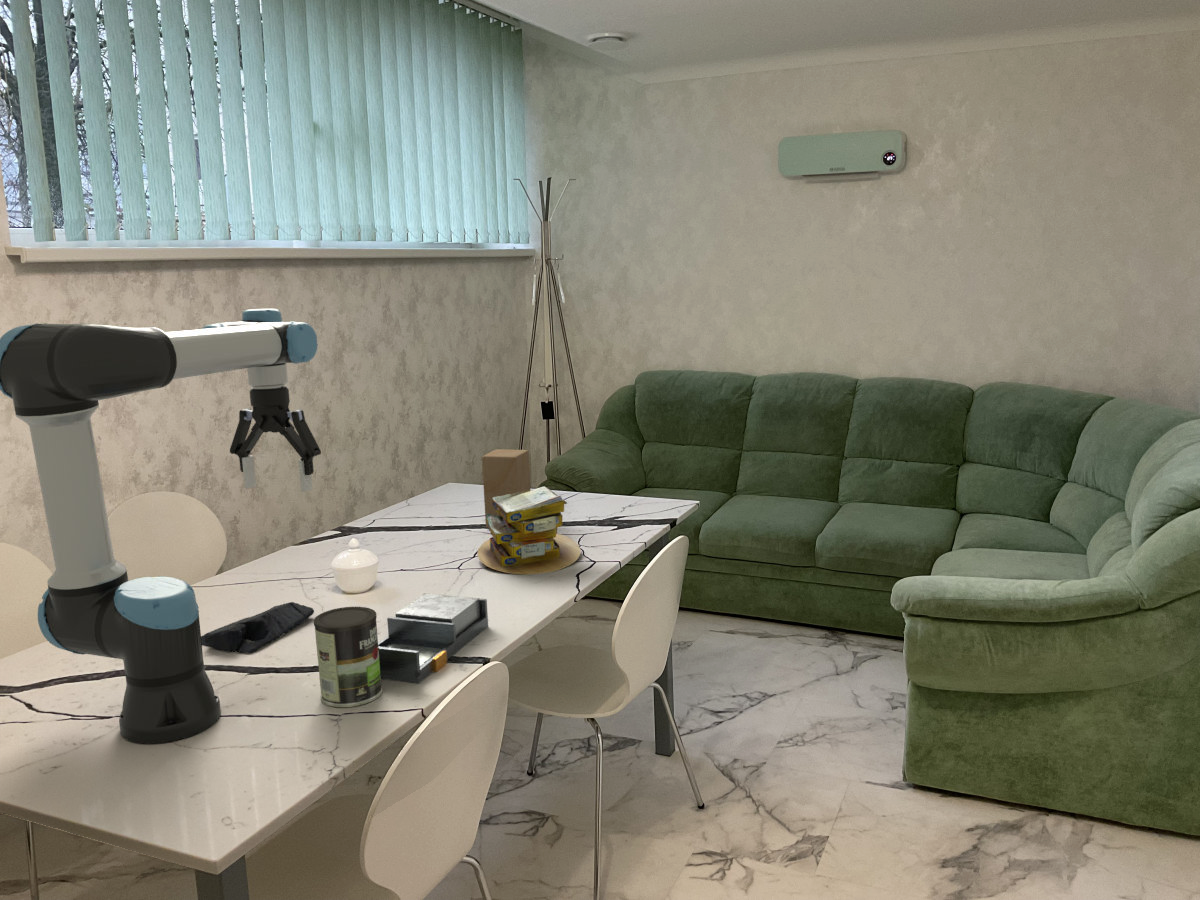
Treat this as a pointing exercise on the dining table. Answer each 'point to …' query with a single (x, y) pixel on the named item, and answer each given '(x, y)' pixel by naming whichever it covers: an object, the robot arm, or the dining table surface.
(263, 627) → the black pouch
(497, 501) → the stacked yellow boxes
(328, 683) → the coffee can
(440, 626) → the rack
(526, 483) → the wooden block
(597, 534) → the dining table surface
